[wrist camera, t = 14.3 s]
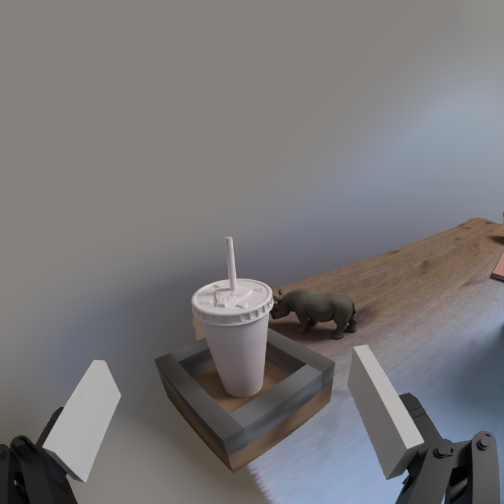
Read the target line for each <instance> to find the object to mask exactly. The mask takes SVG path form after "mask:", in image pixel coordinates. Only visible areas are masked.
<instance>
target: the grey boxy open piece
mask: <svg viewBox="0 0 504 504" xmlns="http://www.w3.org/2000/svg"><path fill="white" fill-rule="evenodd" d="M155 363H156V366H157V369H158V372H159V375H160V377H161V380H162V382H163V385H164V388H165V390H166V393H167V396H168V398H169V399H170V400H171V402H172V403H173V404H174V406H175V407H176V408H177V410H178V411H179V412H180V413H181V415H182V416H183V417H184V419H185V420H186V421H187V422H188V423H189V425H190V426H191V427H192V428H193V429H194V431H195V432H196V433H197V434H198V435H199V437H200V438H201V439H202V440H203V441H204V442H205V443H206V444H207V446H208V447H209V448H210V449H211V450H212V451H213V452H214V453H215V454H216V455H217V457H218V458H219V459H220V460H221V461H222V462H223V463H224V464H225V465H226V466H227V467H228V468H229V469H230V470H231V471H232V472H233V473H234V472H235V471H237V470H239V469H240V468H242V467H243V466H245V465H247V464H248V463H250V462H251V461H253V460H254V459H256V458H257V457H259V456H260V455H262V454H263V453H265V452H266V451H268V450H269V449H271V448H272V447H273V446H275V445H276V444H278V443H279V442H280V441H282V440H283V439H284V438H286V437H287V436H288V435H290V434H291V433H292V432H294V431H295V430H296V429H298V428H299V427H300V426H301V425H303V424H304V423H305V422H306V421H308V420H309V419H310V418H311V417H313V416H314V415H315V414H316V413H317V412H318V411H320V410H321V409H322V408H323V407H324V406H325V405H327V404H328V403H329V402H330V397H331V390H332V383H333V375H334V367H335V362H334V361H332V360H330V359H328V358H326V357H324V356H322V355H320V354H318V353H316V352H314V351H312V350H310V349H308V348H306V347H304V346H302V345H300V344H298V343H296V342H295V341H293V340H291V339H289V338H287V337H285V336H283V335H281V334H279V333H278V332H276V331H274V330H272V329H270V328H268V330H267V342H266V353H265V365H264V376H263V385H262V388H261V389H260V391H259V392H257V393H256V394H254V395H252V396H249V397H234V396H232V395H230V394H228V393H227V392H226V391H225V389H224V386H223V384H222V381H221V379H220V376H219V373H218V371H217V368H216V365H215V363H214V360H213V357H212V355H211V352H210V349H209V346H208V343H207V341H206V338H204V339H202V340H199V341H197V342H195V343H193V344H190V345H188V346H186V347H183V348H181V349H179V350H176V351H174V352H172V353H169V354H167V355H164V356H162V357H160V358H157V359H155Z"/></svg>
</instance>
